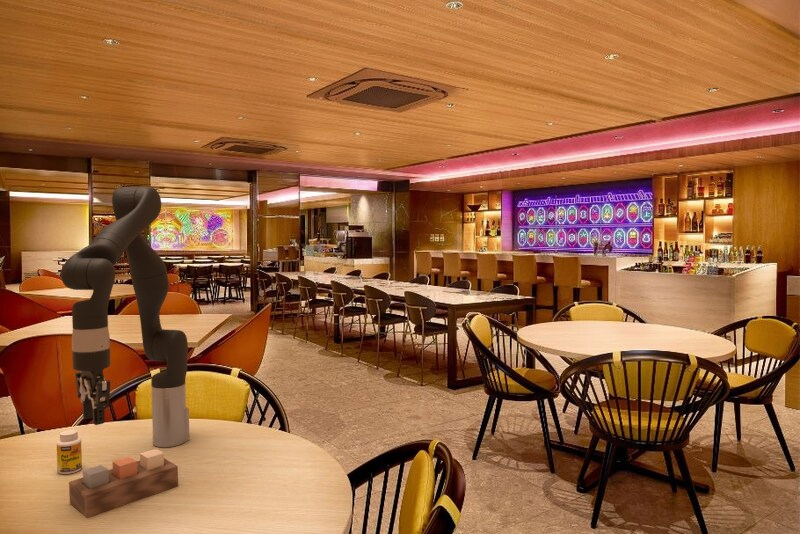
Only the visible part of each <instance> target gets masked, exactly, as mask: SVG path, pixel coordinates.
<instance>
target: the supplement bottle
mask: <svg viewBox="0 0 800 534" xmlns="http://www.w3.org/2000/svg"><path fill="white" fill-rule="evenodd" d="M82 452H83V451H82V439H81V437H80V436H79V435H78V430H77V429H68V430H64V431H62V432H59V439H58V440H57V442H56V466H57V473H58V474H60V475H72V474H74V473H76V472H79V471H80V470H82V468H83V462H82V461H83V455H82Z"/></svg>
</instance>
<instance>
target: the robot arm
mask: <svg viewBox="0 0 800 534" xmlns="http://www.w3.org/2000/svg"><path fill="white" fill-rule="evenodd" d="M111 204H112V210H113V214H114V217H115V221H113V222H111V223H109V224H108V225H105V227H103V228H102V229H101V230H100V231H99V232H98V233H97V234H96V236H95V237H94V238H93V239H92V241H91V242H90V243H89V245H87V246H85V247H83V248H82V249H80V250H79V251H77V252H76V253H74V254H73V255H72V256H70V257H68V259H67V260H66V261H65V263H64V264H63V265H62V268H61V273H60V279H61V281H62V283H63V285H64V286H65V287H66V288H67V289H70V290H75V291H92V294H91V296H90V298H89V299H84V300H78V301H76V302H75V303H73V305H72V308H71V316H72V318H71V319H72V320H71V321H72V322H71V323H72V324H71V325H72V335H71V353H72V356H71V357H72V358H71V359H72V368H73V370H74V371H76V372H75V383H76V384H75V385H76V393H77V398H78V399H80V403H82V418H83V419H84V420H87V419H88V420H89V419H92V424H93V425H95V426H99V425H103V424H104V423H105V422H106V421H105V420H106V419H105V418H106V417H105V415H106V414H105V407H107V406H110V397H111V396H110V395H111V394H110V393H111V381H110V379H107V380H106V378H105V375H104V372H103V371H104V369H107V368H109V367H110V366H111V341H110V340H111V339H110V337H111V336H110V331H109V330H110V329H109V314H108V313H109V312H108V309H109V303H110V300H111V299H110V298H111V295H112V291H113V287H114V283H115V278H116V269H115V267H114V266H115V265H116V264H117V263H118V262H119V260H120V259H121V257H122V256H123V254H124V253H126V257H127V263H128V266H129V273H130V278H131V281H132V283H131V284H132V287H133V290H134V295H135V300H136V304H137V309H138V314H139V319H140V320H139V322H140V331H141V340H142V347H143V350H144V354H145V357H146V358H147V359H148V360H149V361H153V362H163V363H164V362H166V369H165V370H163V371H160V372H157V373H154V375H152V376H151V382H150V383H151V413H152V415H151V417H152V422H151V423H152V445H154V446H155V447H158V448H170V447H176V446H179V445H182V444H184V443H185V442H187V441H189V440H190V439H191V438H190V409H189V408H188V407H187V396H186V395H187V393H186V376H187V373H188V353H189V350H188V349H189V347H188V345H189V344H188V338H187V335H186V333H185V332H184V331H183V330H177V329H164V328H162V324H161V318H160V314H161V308H162V306H163V304H164V302H165V300H166V298H167V295H168V292H169V288H170V284H169V283H170V282H169V278H168V277H169V276H168V271H167V267H166V264H165V262H164V260H163V259H162V258H161V256H160V255H159V254H158V252H157V251H156V250H154V249H153V248H152V247H151V245H150V244H148V242H147V241H146V240H145V239H144V236H143V235H142V234H141V233H142V232H144V230H145V229H147V228H148V227H149V226H150V225H151V224H152V223H154V221H156V219H158V217H159V216H160V214H161V211H162V210H161V209H162V199H161V196H160V193H159V192H158V190H157V189H156V188H155V187H152V186H124V187H117V188H115V189H114V191H113V193H112V197H111Z"/></svg>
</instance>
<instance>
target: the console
mask: <svg viewBox="0 0 800 534" xmlns="http://www.w3.org/2000/svg"><path fill="white" fill-rule="evenodd" d="M136 461H137V474H136V475H132V476H129V477H126V478H123V479H120V480H119V479H118V478H116V477H115V476H113V468H110V469H108V473H109V483H107V484H104V485H101V486H98V487H94V488H91V489H89V488H87V487H86V486H85V485H83V477H81V478H77V479H74V480H70V481H69V482H68V494H69V495H68V496H69V504H70V505H72V506H73V508H75V509H76V510H77V511H78V512H79V513H81V514H82V515H83V517H85V518H89V517H93V516H96V515H98V514H102V513H103V512H107V511H110V510H113V509H116V508H119V507H122V506H124V505H127V504H129V503H133V502H136V501H139V500H141V499H144V498H149V496H153V495H156V494H159V493H161V492H164V491H168V490H171V489H173V488H177V487H179V468H178V465H177V464H175V463H173V462H172V461H169V460H168V459H166V458H164V466H161V467H158V468H155V469H152V470H148V471H146V470H145V469H143V468H142V467H140V460H136Z"/></svg>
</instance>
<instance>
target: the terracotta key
mask: <svg viewBox="0 0 800 534" xmlns="http://www.w3.org/2000/svg"><path fill="white" fill-rule="evenodd" d="M137 461H138V460H136V459H134V458H133V457H131V456H127V457H123V458H120V459H117V460H114V461H112V469H113V476H115V477H116V478H118V479H119V480H120V479H123V478H126V477H129V476H132V475H136V474H137Z"/></svg>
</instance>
